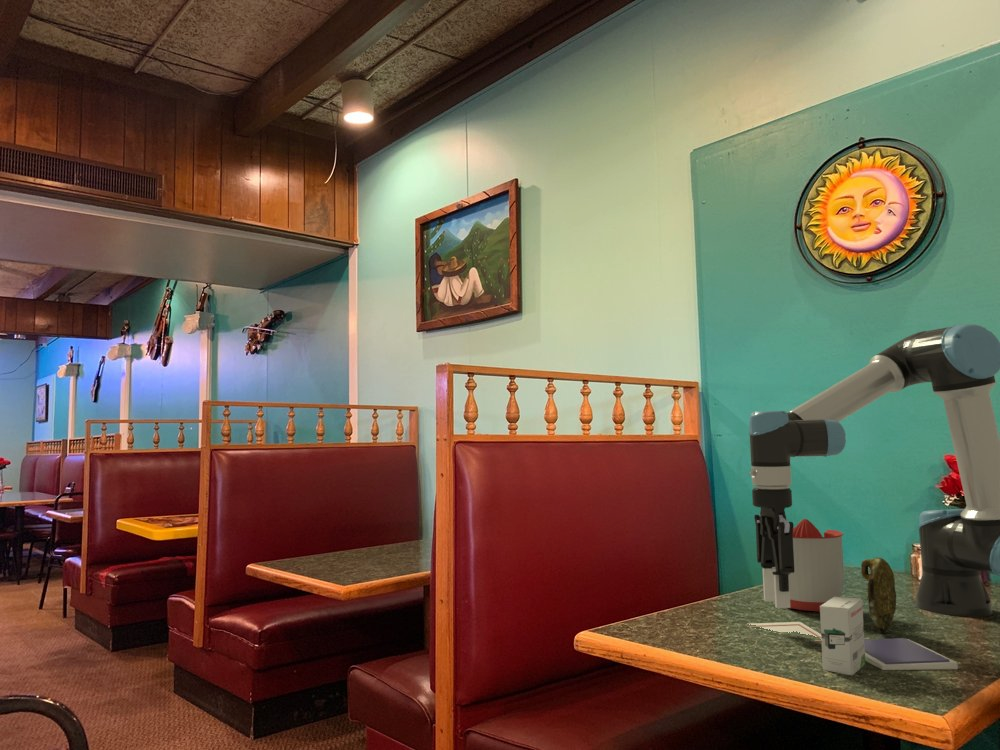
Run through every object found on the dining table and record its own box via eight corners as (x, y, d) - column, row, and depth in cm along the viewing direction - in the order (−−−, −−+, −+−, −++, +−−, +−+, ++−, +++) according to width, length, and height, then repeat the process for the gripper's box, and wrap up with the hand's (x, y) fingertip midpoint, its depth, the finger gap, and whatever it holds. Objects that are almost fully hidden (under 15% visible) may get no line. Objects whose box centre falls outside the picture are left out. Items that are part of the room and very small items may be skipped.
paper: (799, 623, 155) (799, 621, 155) (837, 645, 139) (837, 643, 139) (725, 625, 155) (725, 623, 155) (754, 648, 139) (754, 646, 139)
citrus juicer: (857, 602, 171) (852, 516, 173) (836, 619, 158) (830, 524, 160) (789, 594, 181) (785, 512, 183) (763, 608, 168) (759, 520, 169)
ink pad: (908, 646, 138) (907, 637, 138) (957, 671, 124) (957, 660, 124) (840, 648, 137) (840, 639, 138) (882, 673, 123) (881, 663, 124)
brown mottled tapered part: (880, 639, 143) (876, 561, 144) (855, 635, 146) (851, 558, 147) (899, 630, 149) (894, 554, 150) (874, 625, 152) (870, 552, 153)
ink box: (836, 662, 130) (833, 594, 131) (867, 668, 127) (863, 598, 128) (821, 676, 123) (817, 604, 124) (853, 682, 120) (849, 608, 121)
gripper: (737, 484, 158) (741, 594, 156) (771, 491, 140) (777, 616, 138) (771, 483, 158) (776, 593, 157) (810, 490, 140) (816, 615, 139)
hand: (776, 603), depth 147 cm, fingers open, 5 cm apart
